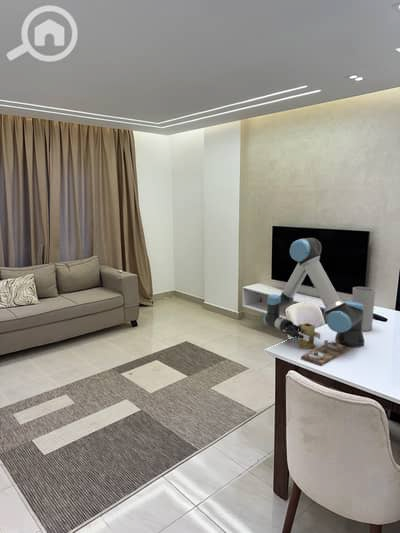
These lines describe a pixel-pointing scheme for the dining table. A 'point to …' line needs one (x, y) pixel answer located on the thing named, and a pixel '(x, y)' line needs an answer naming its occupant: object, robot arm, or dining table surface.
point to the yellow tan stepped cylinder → (309, 331)
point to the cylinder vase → (365, 304)
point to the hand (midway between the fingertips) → (314, 337)
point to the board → (325, 353)
